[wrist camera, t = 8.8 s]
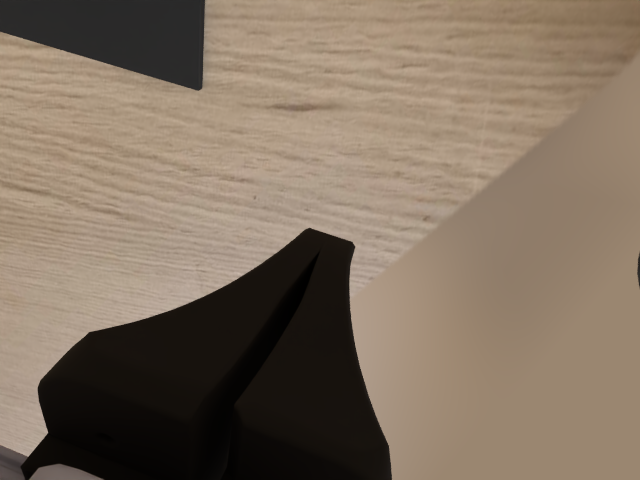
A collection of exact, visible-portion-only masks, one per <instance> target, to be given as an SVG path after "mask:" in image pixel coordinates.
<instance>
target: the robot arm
mask: <svg viewBox="0 0 640 480" xmlns="http://www.w3.org/2000/svg"><path fill="white" fill-rule="evenodd" d="M354 249H355V246H354V244H353V242H351V241H348V240H345V239H341V238H338V237H335V236H332V235H329V234H326V233H323V232H320V231H317V230H314V229H311V228H308V229H306V230H304V231H303V232H302V233H301V234H300V235H298V236H297V237H296V238H295V239H294V240H293V241H291V242H290V243H289V244H288V245H286V246H285V247H284V248H282V249H281V250H280V251H279V252H277V253H276V254H274V255H273V256H272V257H270V258H269V259H267V260H266V261H265V262H263V263H262V264H260V265H259V266H257V267H256V268H254V269H253V270H251V271H250V272H248V273H246V274H245V275H243V276H242V277H240V278H238V279H237V280H235V281H233V282H231V283H230V284H228V285H226V286H224V287H222V288H220V289H218V290H216V291H214V292H212V293H210V294H208V295H206V296H204V297H202V298H200V299H197V300H195V301H193V302H190V303H188V304H186V305H183V306H181V307H178V308H176V309H173V310H171V311H168V312H165V313H162V314H158V315H155V316H152V317H149V318H146V319H143V320H139V321H136V322H132V323H128V324H124V325H120V326H115V327H111V328H107V329H102V330H98V331H93V332H89V333H88V334H87V335H86V336H85V337H84V338H82V339H81V340H80V341H79V342H78V343H76V344H75V345H74V346H73V347H72V348H71V349H70V350H69V351H68V352H67V353H66V354H65V355H64V356H63V357H62V358H61V359H60V360H59V361H58V362H57V363H56V364H55V366H54V367H53V368H52V369H51V370H50V371H49V372H48V373H47V374H46V375H45V376H44V377H43V378H42V379H41V381H40V383H39V386H38V396H39V403H40V406H41V410H42V413H43V416H44V420H45V423H46V427H47V430H48V434H47V435H46V436H45V438H44V439H43V440H42V441H41V442H40V444H39V445H38V446H37V447H36V448H35V450H34V451H33V452H32V453H31V454H30V456H29V457H27V456H25V455H23V454H20V453H18V452H15V451H13V450H11V449H8V448H6V447H4V446H1V445H0V480H392V474H391V462H390V453H389V445H388V443H387V441H386V439H385V436H384V434H383V432H382V430H381V427H380V425H379V423H378V420H377V418H376V415H375V412H374V410H373V407H372V404H371V401H370V399H369V396H368V392H367V389H366V386H365V382H364V379H363V376H362V372H361V369H360V365H359V361H358V357H357V352H356V348H355V342H354V336H353V330H352V322H351V313H350V297H349V276H350V265H351V260H352V257H353V253H354Z"/></svg>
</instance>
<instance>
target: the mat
mask: <svg viewBox="0 0 640 480" xmlns="http://www.w3.org/2000/svg"><path fill="white" fill-rule="evenodd" d="M204 9H205V0H0V32H3V33H7V34H10V35H13V36H17V37H20V38H23V39H27V40H30V41H34V42H37V43H40V44H44V45H47V46H50V47H54V48H57V49H60V50H64V51H67V52H70V53H74V54H77V55H80V56H84V57H87V58H91V59H94V60H97V61H101V62H104V63H107V64H111V65H114V66H117V67H121V68H124V69H127V70H131V71H134V72H137V73H141V74H144V75H147V76H151V77H154V78H158V79H161V80H164V81H168V82H171V83H174V84H178V85H181V86H184V87H188V88H191V89H194V90H198V91H199V90H200V89H202V79H203V44H204Z"/></svg>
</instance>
